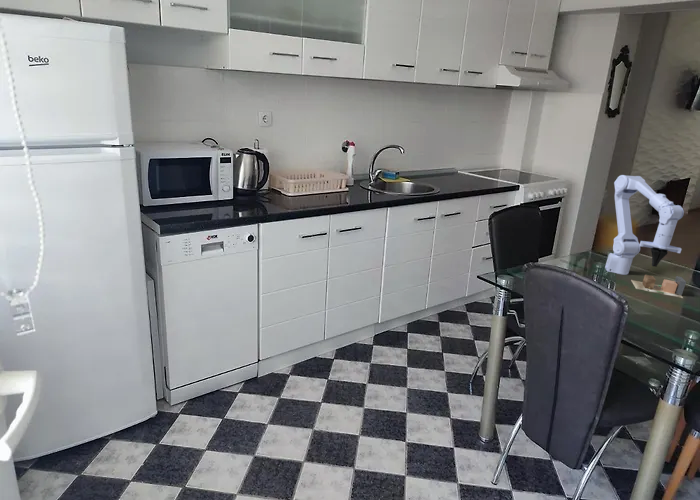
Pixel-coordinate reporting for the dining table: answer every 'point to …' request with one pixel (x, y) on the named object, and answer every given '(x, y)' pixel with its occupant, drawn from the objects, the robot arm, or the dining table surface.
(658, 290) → the gauge board
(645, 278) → the brown box with peg
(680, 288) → the grey flat block
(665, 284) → the peach matte cube
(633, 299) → the dining table surface
